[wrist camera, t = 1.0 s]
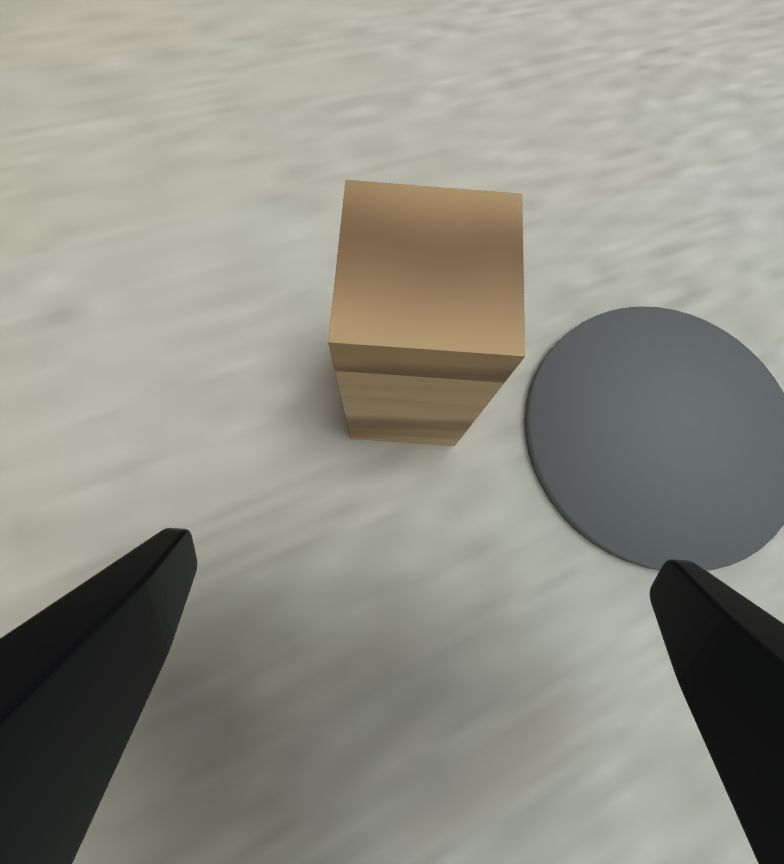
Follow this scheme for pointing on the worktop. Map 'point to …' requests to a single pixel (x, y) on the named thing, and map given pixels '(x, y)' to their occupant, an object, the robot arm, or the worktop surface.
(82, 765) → the robot arm
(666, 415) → the mat
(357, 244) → the tan wooden block
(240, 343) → the worktop surface
